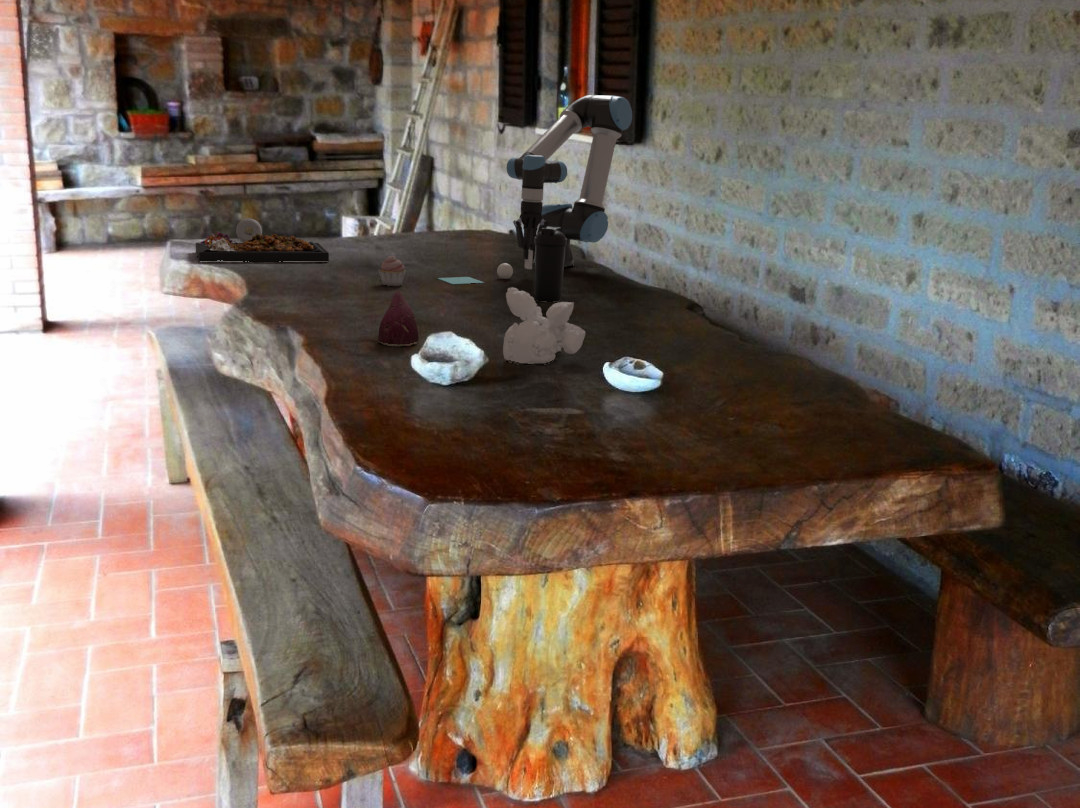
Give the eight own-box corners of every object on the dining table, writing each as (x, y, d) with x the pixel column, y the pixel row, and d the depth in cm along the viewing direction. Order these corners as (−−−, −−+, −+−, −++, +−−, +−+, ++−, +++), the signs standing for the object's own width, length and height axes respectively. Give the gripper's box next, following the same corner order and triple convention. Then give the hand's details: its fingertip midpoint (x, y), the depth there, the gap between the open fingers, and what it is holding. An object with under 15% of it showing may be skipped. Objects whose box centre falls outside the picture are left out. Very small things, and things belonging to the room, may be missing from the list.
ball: (507, 277, 402) (508, 261, 401) (515, 279, 398) (516, 264, 396) (494, 277, 400) (494, 262, 398) (501, 280, 395) (502, 264, 394)
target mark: (468, 277, 398) (468, 276, 398) (484, 283, 388) (484, 282, 388) (437, 278, 392) (437, 278, 392) (452, 284, 382) (452, 283, 382)
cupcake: (412, 286, 376) (412, 255, 374) (390, 288, 370) (390, 257, 367) (394, 281, 382) (394, 252, 380) (372, 284, 376) (372, 253, 373)
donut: (262, 243, 454) (261, 218, 451) (262, 244, 450) (262, 219, 448) (236, 243, 451) (235, 217, 449) (236, 244, 448) (235, 218, 445)
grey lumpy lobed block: (480, 327, 274) (516, 275, 285) (495, 385, 288) (528, 333, 299) (551, 341, 266) (585, 287, 278) (563, 401, 280) (594, 347, 292)
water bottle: (567, 299, 366) (571, 227, 360) (557, 304, 356) (561, 230, 350) (537, 296, 369) (541, 224, 363) (527, 301, 360) (530, 227, 353)
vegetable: (380, 350, 299) (374, 293, 298) (420, 346, 299) (414, 289, 299) (377, 349, 288) (371, 290, 288) (418, 345, 289) (412, 286, 288)
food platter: (199, 265, 400) (198, 235, 398) (195, 254, 423) (195, 226, 420) (328, 264, 415) (328, 236, 412) (318, 254, 437) (318, 227, 435)
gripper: (542, 199, 403) (538, 266, 409) (510, 199, 396) (506, 267, 402) (553, 202, 396) (549, 269, 402) (520, 201, 390) (517, 270, 396)
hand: (528, 268), depth 402 cm, fingers closed
